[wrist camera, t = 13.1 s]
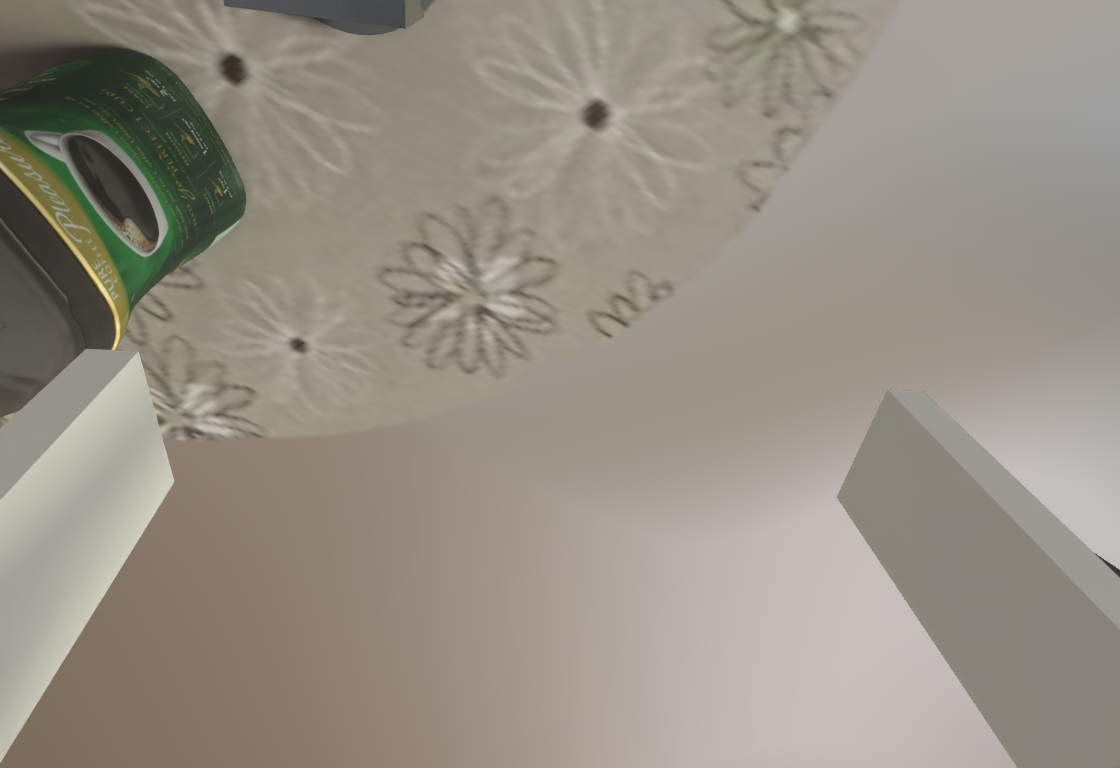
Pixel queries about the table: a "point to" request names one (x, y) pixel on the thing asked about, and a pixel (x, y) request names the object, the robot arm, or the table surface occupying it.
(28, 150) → the coffee jar
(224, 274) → the table surface
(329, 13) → the grey rectangular block
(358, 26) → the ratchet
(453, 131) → the table surface
